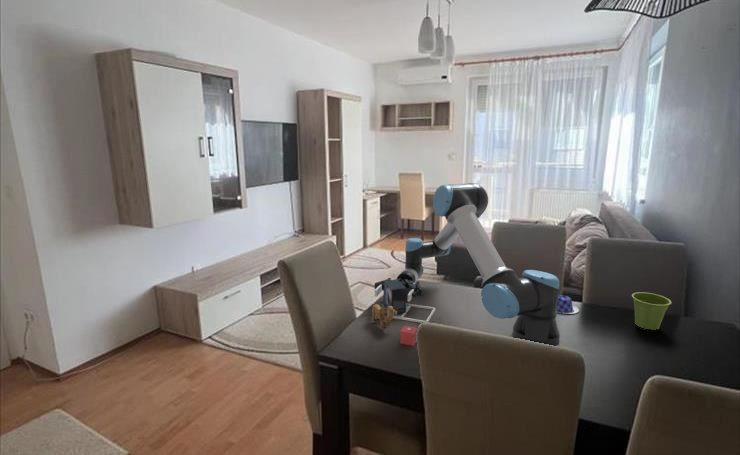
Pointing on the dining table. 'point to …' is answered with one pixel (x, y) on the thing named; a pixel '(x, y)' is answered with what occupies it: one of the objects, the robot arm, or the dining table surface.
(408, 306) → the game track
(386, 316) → the lion figurine
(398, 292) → the small box
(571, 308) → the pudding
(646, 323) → the plant pot
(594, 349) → the dining table surface
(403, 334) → the red block
